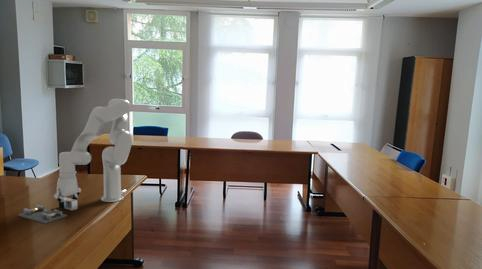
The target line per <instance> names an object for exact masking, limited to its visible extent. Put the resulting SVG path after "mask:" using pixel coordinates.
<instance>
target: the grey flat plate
mask: <svg viewBox="0 0 482 269" xmlns="http://www.w3.org/2000/svg"><path fill="white" fill-rule="evenodd" d="M42 213H44V214H51V213H53V210H50V209H46V208H44V212H42V211H38V212H34V213H32V215H28V214H24V212H23V213H22V212H21V213H19V214H17V216H18V217H20V218H25V219H28V220H31V221H35V222H38V223H42V224H49V223H52V222H55V221H58V220H61V219H63V218H66V217H68V214H64V213H62V216H61V217H60V216H55V217H52V218H50V219H51V220H45V219H42Z"/></svg>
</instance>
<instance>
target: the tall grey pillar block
mask: <svg viewBox="0 0 482 269" xmlns="http://www.w3.org/2000/svg"><path fill="white" fill-rule="evenodd" d="M63 202H64V209H65V210H68V211H72V212H73V211H76V210H78V199H77V200H75V199H72V197H71V198H70V197H67V196H66V197H65V198H64V200H63ZM64 209H63V210H64Z"/></svg>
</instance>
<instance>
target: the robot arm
mask: <svg viewBox="0 0 482 269" xmlns="http://www.w3.org/2000/svg"><path fill="white" fill-rule="evenodd" d="M131 108H132V105H131V102H129V100H127V99H125V98H124V99H123V98H112V99H110V100H109V101H108V104H107V106H95V107H93V109H92V111H91V112H90V115H89V117H88V120H87V122H86V124H85V126H84V129H83V131H81V133H80V135H79V136H78V137H77V138H76V140H75V141H74V142H73V146H72V148H71V150H70V151H62V152H60V153H59V154H58V162H59V163H58V164H59V167H58V168H59V177H58V178H57V183H56V192H55V193H54V194H53V198H54V199H55V200H56V201H57V202H58V208H59V210H64V202H63V200H64V198H65V197H66V198H67V197H69V196H72V197H71V199H75V200H77V201H78V197H79V195H80V193H81V191H82V189H81V188H80V187H79V185H78V179H77V175H76V174H77V171H76V165H77V166H78V165H79V166H81V165H83V166H85V165H89V163H91V161H92V155H91V153H90V152H88V151H86V150H87V148H88V146H89V144H90V143H91V142H93V141H94V140H96V139H98V138H99V136H100V135H101V132H102V129H103V127H104V125H105V123H110V122H112V125H111V130H110V133H109V135H108V140H109V143H111V144H113V145H114V146H107V147H105V148H104V149H103V150H102V153H101V159H102V165H103V166H102V167H103V196H101V198H100V200H101V201H102V202H105V203H116V202H120V201H123V200H124V195H123V194H125V193H127V189H122V181H121V180H122V175H121V174H122V171H121V170H122V169H121V166H122V165H124V164H125V163H126V162H127V160H128V157H129V154H130V152H131V148H132V144H133V136H132V133H131V132H130V131H128V127H129V114H128V113H129V112H130V110H131Z"/></svg>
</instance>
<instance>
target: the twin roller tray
mask: <svg viewBox="0 0 482 269" xmlns="http://www.w3.org/2000/svg"><path fill="white" fill-rule="evenodd" d="M44 209H45V206H43V205H40V204H39V205H38V204H36V205H35V207H34V208H31V209H29V208H26V207H25V208H23V213H24V214H28V215H32V213H34V212H38V211H42V212H44ZM52 211H53V213H51V214H44V213H42V219H45V220H51V219H50V218H52V217H55V216H60V217H61V216H62V214H63V211H62V210H60V209H59V210H58V209H53V210H52Z"/></svg>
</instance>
